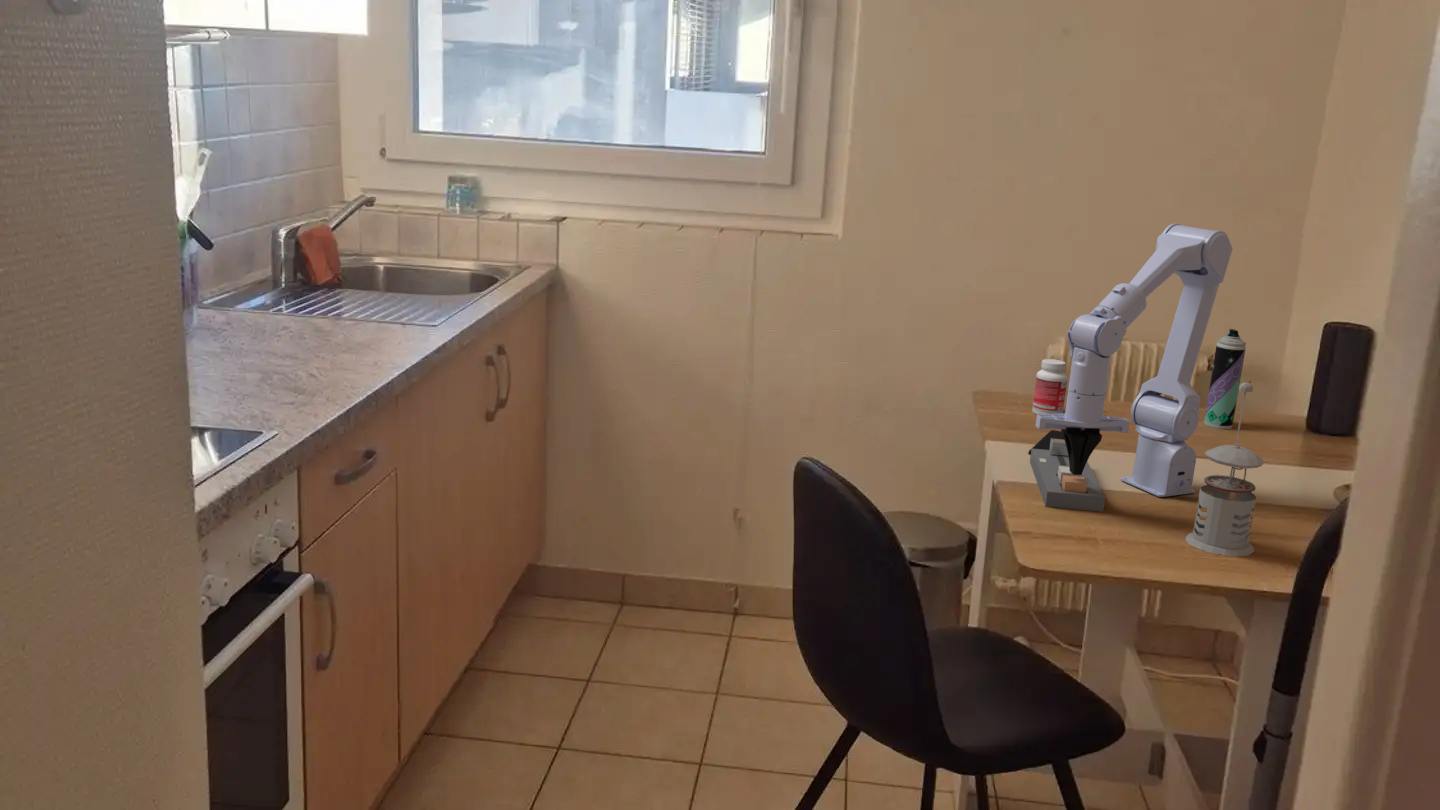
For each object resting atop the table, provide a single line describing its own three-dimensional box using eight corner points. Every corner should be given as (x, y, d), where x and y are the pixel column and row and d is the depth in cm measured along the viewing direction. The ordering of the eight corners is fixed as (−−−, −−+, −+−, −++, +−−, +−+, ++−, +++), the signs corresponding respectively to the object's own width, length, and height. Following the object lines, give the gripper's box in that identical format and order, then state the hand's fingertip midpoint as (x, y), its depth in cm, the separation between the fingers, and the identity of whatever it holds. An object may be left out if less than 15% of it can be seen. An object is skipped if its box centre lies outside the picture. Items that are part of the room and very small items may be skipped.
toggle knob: (1068, 455, 219) (1070, 443, 218) (1051, 454, 219) (1052, 442, 218) (1066, 451, 221) (1068, 439, 220) (1049, 450, 221) (1050, 438, 221)
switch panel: (1103, 511, 199) (1105, 496, 198) (1045, 506, 200) (1047, 490, 199) (1081, 466, 222) (1083, 452, 221) (1029, 461, 223) (1031, 448, 222)
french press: (1177, 544, 186) (1203, 382, 180) (1196, 524, 196) (1222, 369, 189) (1246, 561, 181) (1276, 395, 175) (1263, 539, 191) (1291, 381, 184)
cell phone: (1097, 442, 239) (1097, 437, 239) (1076, 465, 224) (1076, 460, 223) (1050, 434, 243) (1051, 429, 243) (1027, 456, 228) (1027, 451, 227)
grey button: (1080, 488, 205) (1082, 474, 204) (1059, 486, 205) (1061, 472, 205) (1077, 481, 208) (1079, 468, 208) (1057, 479, 209) (1058, 466, 208)
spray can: (1197, 423, 256) (1213, 327, 251) (1217, 421, 258) (1233, 326, 253) (1218, 430, 251) (1234, 332, 246) (1238, 428, 253) (1254, 331, 248)
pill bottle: (1062, 419, 253) (1069, 366, 250) (1031, 415, 254) (1037, 362, 251) (1062, 412, 258) (1069, 360, 255) (1032, 408, 260) (1038, 356, 257)
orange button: (1085, 498, 200) (1087, 483, 199) (1063, 495, 200) (1065, 481, 200) (1082, 491, 203) (1084, 477, 203) (1060, 489, 204) (1062, 475, 203)
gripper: (1122, 386, 202) (1110, 466, 205) (1034, 383, 201) (1024, 463, 204) (1138, 398, 195) (1126, 480, 199) (1048, 394, 194) (1037, 477, 198)
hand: (1075, 473), depth 201 cm, fingers closed
